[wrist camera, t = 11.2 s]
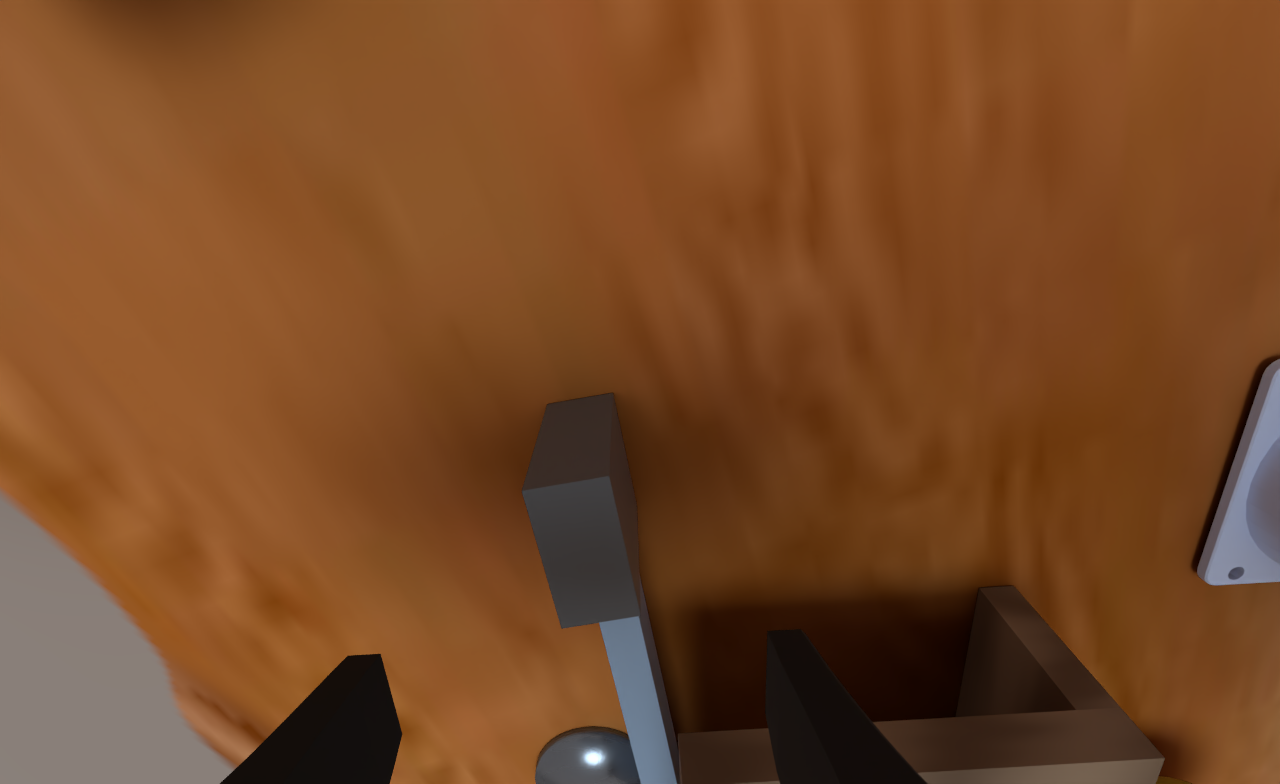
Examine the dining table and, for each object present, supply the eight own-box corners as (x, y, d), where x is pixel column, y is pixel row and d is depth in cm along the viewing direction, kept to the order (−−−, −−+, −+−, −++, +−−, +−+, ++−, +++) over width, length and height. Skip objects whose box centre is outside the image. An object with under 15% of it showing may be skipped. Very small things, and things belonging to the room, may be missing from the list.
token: (643, 713, 24) (643, 732, 23) (654, 792, 26) (655, 812, 25) (529, 724, 24) (525, 743, 23) (547, 802, 26) (545, 822, 25)
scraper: (613, 392, 19) (609, 475, 14) (706, 831, 26) (724, 981, 21) (547, 404, 19) (521, 490, 14) (658, 838, 26) (666, 989, 21)
